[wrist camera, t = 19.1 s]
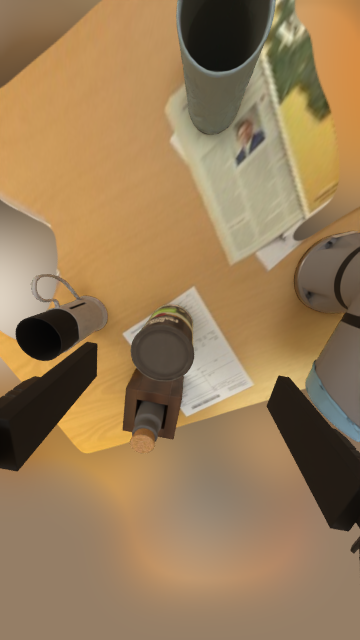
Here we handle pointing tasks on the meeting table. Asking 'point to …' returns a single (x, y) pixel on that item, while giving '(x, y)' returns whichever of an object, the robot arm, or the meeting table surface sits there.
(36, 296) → the glass holder
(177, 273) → the meeting table surface
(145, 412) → the bottle
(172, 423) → the bottle stand
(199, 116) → the grey cup
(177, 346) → the coffee can
